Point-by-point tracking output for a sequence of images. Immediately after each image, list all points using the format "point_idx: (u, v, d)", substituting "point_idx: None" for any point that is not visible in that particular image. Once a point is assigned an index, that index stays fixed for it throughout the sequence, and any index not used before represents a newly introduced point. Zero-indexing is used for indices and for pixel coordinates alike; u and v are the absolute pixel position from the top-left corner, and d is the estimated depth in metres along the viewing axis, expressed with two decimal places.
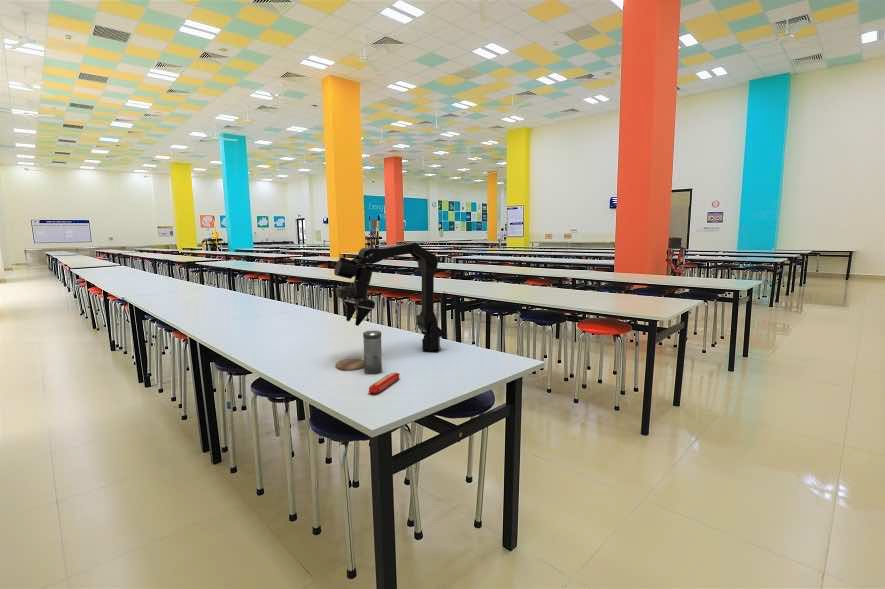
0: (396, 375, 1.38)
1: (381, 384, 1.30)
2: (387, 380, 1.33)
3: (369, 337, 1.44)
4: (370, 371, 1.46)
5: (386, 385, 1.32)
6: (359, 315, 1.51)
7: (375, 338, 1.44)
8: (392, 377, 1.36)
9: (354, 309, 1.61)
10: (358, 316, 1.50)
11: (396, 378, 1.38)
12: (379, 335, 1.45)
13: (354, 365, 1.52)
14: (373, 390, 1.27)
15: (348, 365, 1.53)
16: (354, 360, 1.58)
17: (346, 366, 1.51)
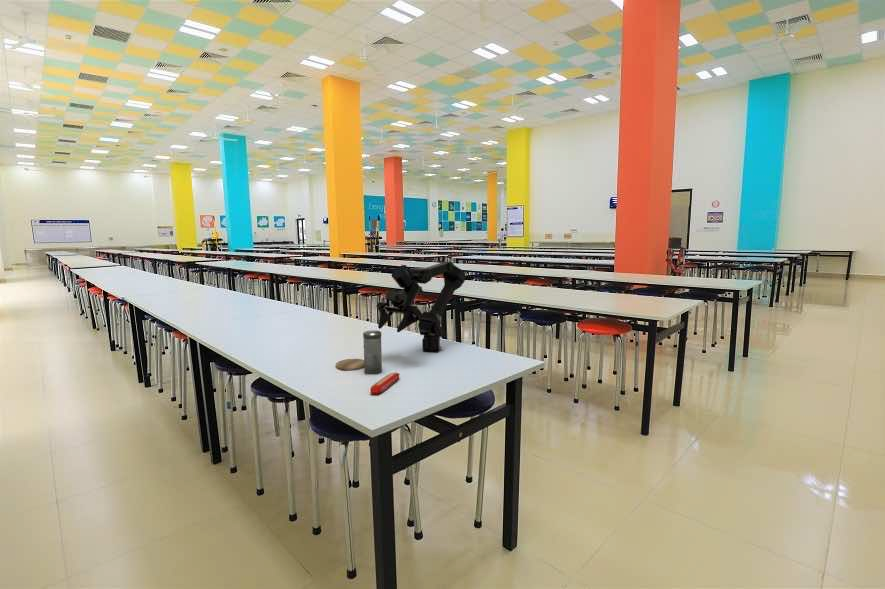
0: (396, 375, 1.38)
1: (382, 384, 1.30)
2: (388, 380, 1.33)
3: (369, 337, 1.44)
4: (370, 371, 1.46)
5: (387, 385, 1.32)
6: (404, 322, 1.51)
7: (375, 338, 1.44)
8: (392, 377, 1.36)
9: (386, 320, 1.59)
10: (403, 323, 1.51)
11: (396, 378, 1.38)
12: (379, 335, 1.45)
13: (354, 365, 1.52)
14: (375, 390, 1.27)
15: (348, 365, 1.53)
16: (354, 360, 1.58)
17: (346, 366, 1.51)
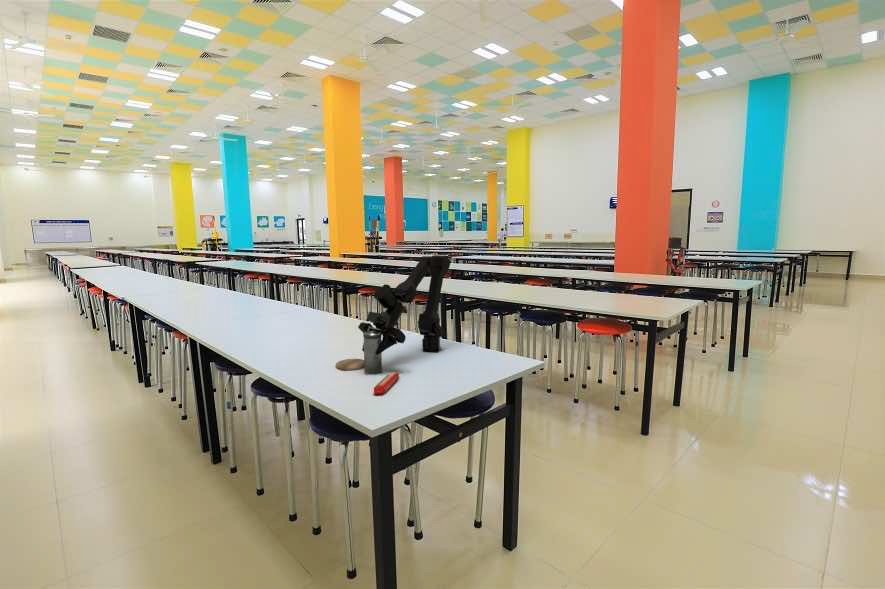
0: (396, 375, 1.39)
1: (385, 384, 1.30)
2: (390, 380, 1.33)
3: (369, 337, 1.44)
4: (370, 371, 1.46)
5: (389, 385, 1.32)
6: (383, 344, 1.45)
7: (375, 338, 1.44)
8: (393, 377, 1.36)
9: None
10: (382, 345, 1.45)
11: (397, 378, 1.39)
12: (379, 335, 1.45)
13: (354, 365, 1.52)
14: (379, 391, 1.27)
15: (348, 365, 1.53)
16: (354, 360, 1.58)
17: (346, 366, 1.51)
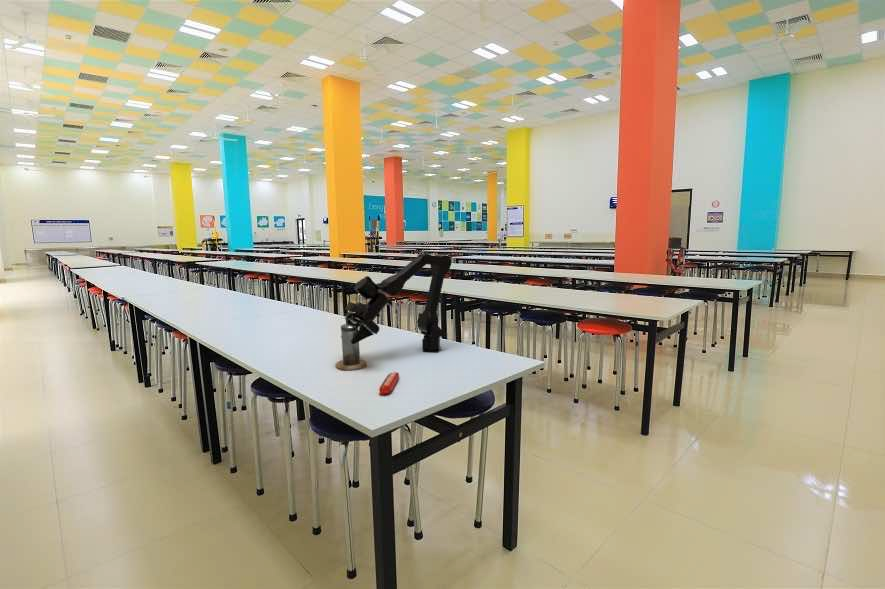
0: (397, 375, 1.39)
1: (390, 384, 1.30)
2: (393, 380, 1.33)
3: (344, 329, 1.51)
4: (346, 362, 1.52)
5: (393, 385, 1.32)
6: (359, 334, 1.49)
7: (350, 330, 1.51)
8: (395, 377, 1.36)
9: None
10: (358, 335, 1.49)
11: (398, 377, 1.39)
12: (354, 328, 1.51)
13: (354, 365, 1.52)
14: (385, 391, 1.27)
15: None
16: None
17: (346, 366, 1.51)
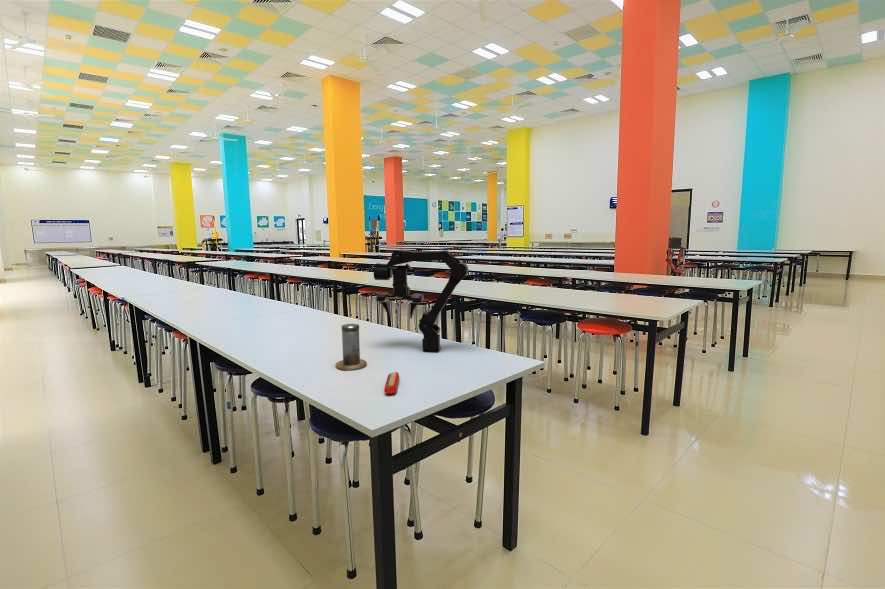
0: (398, 375, 1.39)
1: (395, 384, 1.30)
2: (396, 380, 1.34)
3: (344, 329, 1.51)
4: (346, 362, 1.52)
5: (397, 385, 1.32)
6: None
7: (350, 331, 1.51)
8: (397, 377, 1.36)
9: None
10: None
11: (398, 377, 1.39)
12: (355, 328, 1.51)
13: (354, 365, 1.52)
14: (391, 391, 1.27)
15: None
16: None
17: (346, 366, 1.51)
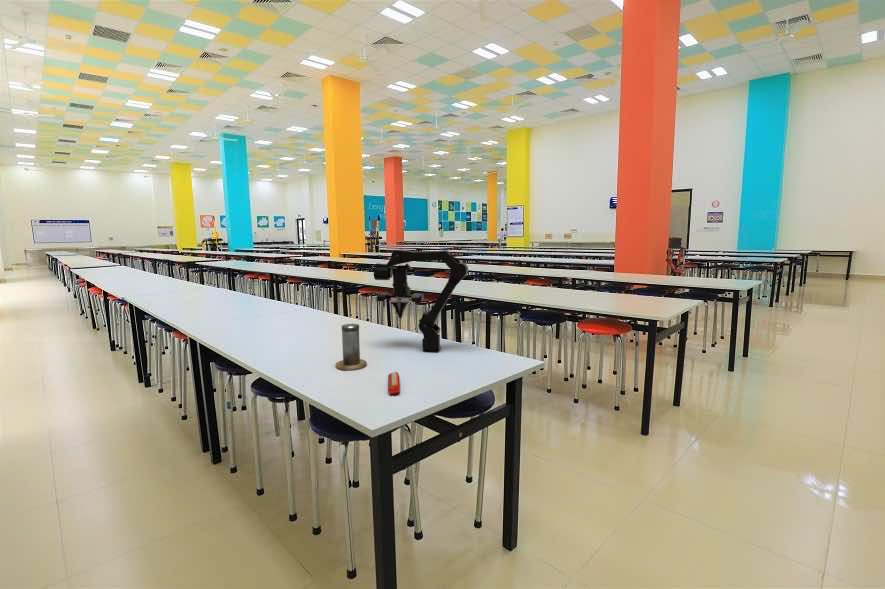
0: (398, 374, 1.39)
1: (398, 383, 1.30)
2: (398, 379, 1.34)
3: (344, 329, 1.51)
4: (346, 362, 1.52)
5: (399, 384, 1.33)
6: None
7: (350, 331, 1.51)
8: (398, 376, 1.37)
9: None
10: None
11: None
12: (355, 328, 1.51)
13: (354, 365, 1.52)
14: (395, 391, 1.27)
15: None
16: None
17: (346, 366, 1.51)
